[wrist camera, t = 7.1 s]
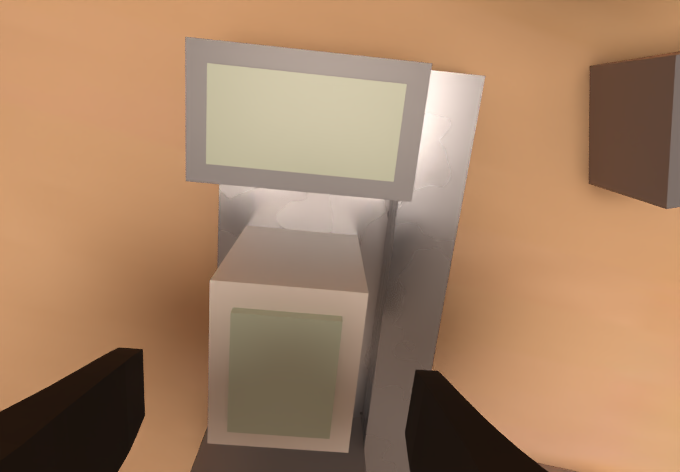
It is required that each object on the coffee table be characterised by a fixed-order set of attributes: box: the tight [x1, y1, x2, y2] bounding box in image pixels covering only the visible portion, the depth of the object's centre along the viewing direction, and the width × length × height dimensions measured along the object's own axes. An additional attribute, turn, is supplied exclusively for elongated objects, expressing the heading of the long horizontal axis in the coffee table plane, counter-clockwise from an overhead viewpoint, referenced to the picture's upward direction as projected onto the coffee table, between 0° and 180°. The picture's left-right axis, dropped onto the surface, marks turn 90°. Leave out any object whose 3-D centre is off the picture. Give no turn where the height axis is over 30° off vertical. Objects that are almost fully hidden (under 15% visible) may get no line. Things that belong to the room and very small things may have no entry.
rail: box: [218, 70, 485, 472], centre depth 16 cm, size 17×8×2 cm, turn 174°
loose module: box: [207, 226, 369, 453], centre depth 14 cm, size 5×4×5 cm
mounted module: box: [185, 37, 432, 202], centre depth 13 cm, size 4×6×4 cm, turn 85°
